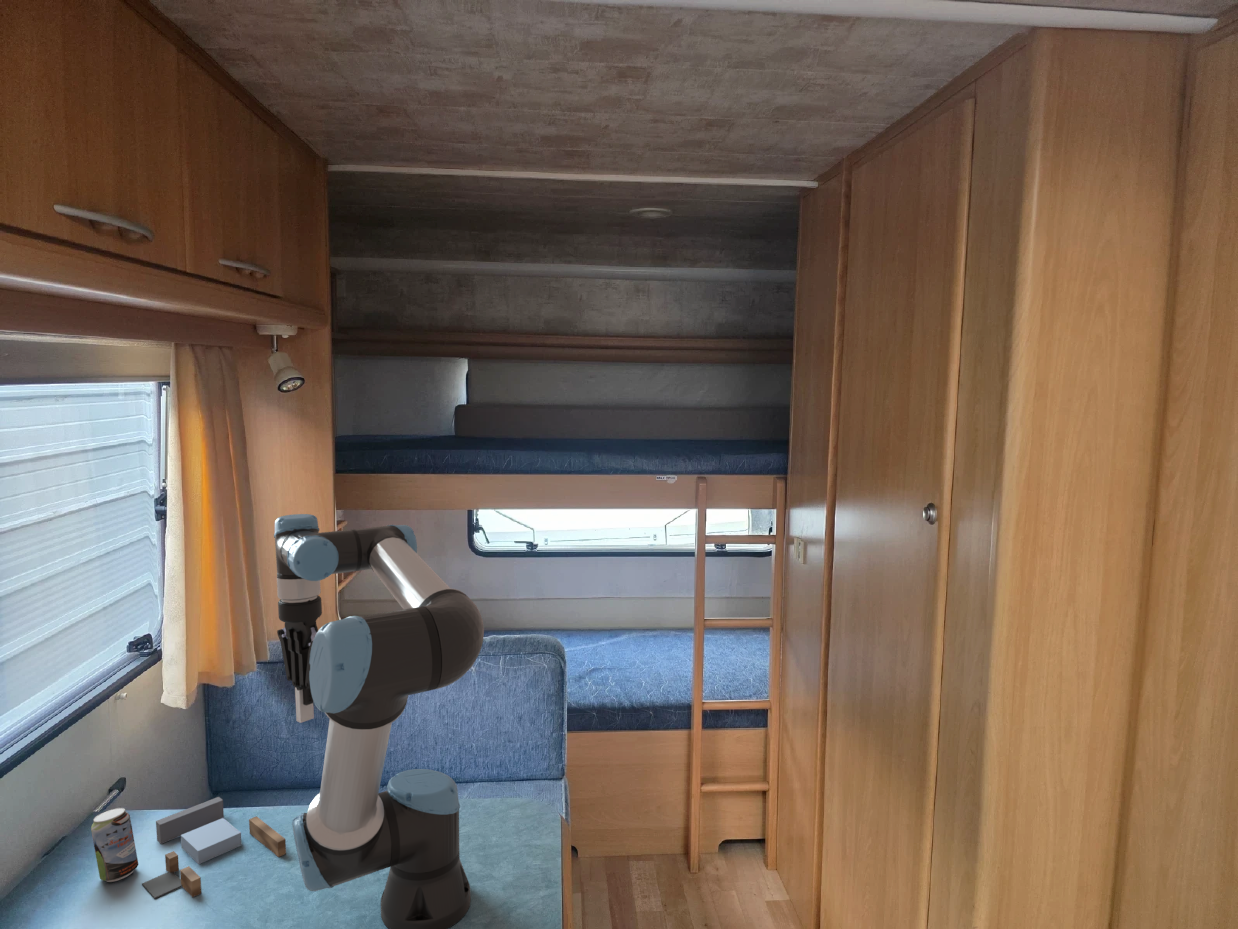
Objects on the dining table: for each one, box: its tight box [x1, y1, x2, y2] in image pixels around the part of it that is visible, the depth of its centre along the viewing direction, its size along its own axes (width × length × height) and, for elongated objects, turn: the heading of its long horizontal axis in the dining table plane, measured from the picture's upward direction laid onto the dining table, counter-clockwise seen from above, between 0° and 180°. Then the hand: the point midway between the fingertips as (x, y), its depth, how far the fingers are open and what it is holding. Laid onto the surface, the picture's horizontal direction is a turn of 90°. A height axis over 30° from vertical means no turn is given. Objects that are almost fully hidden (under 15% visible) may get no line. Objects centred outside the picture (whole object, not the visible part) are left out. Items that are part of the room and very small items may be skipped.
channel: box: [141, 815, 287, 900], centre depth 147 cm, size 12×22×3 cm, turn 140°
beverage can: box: [90, 807, 139, 883], centre depth 144 cm, size 6×7×12 cm
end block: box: [155, 796, 225, 845], centre depth 159 cm, size 2×12×4 cm, turn 139°
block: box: [180, 818, 243, 865], centre depth 153 cm, size 8×8×3 cm
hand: (305, 719), depth 149 cm, fingers closed
